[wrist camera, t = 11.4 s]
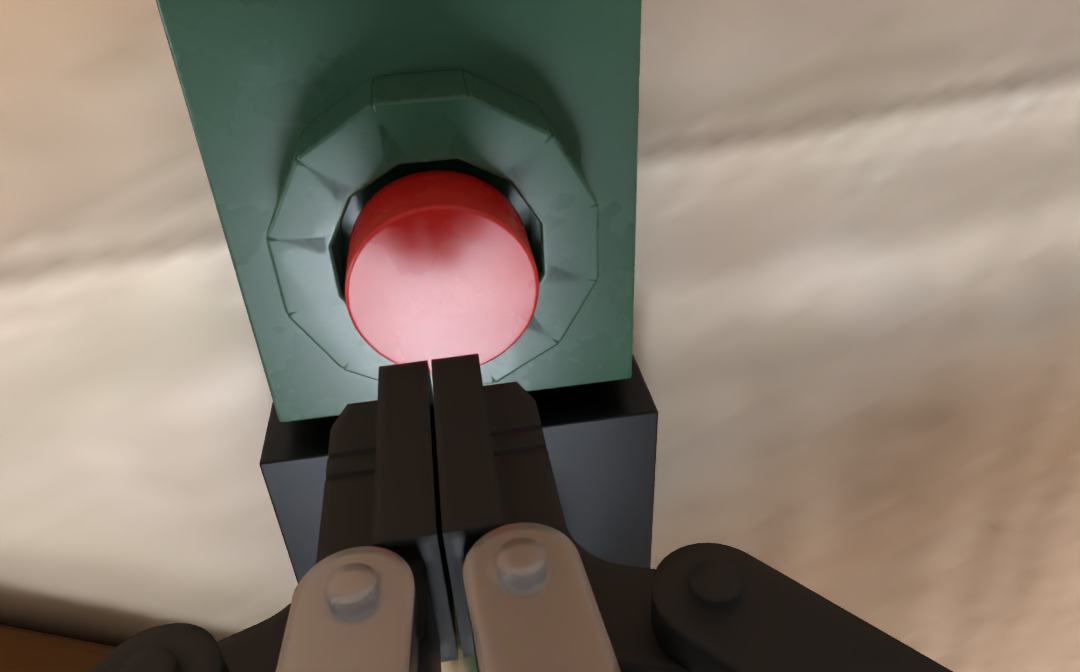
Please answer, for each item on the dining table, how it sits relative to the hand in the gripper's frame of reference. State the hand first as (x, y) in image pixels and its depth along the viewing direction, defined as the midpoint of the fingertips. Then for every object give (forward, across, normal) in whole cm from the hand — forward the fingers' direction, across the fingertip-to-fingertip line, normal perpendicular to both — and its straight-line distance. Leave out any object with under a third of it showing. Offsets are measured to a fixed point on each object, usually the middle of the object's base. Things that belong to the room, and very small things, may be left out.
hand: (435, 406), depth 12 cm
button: (+5, 0, 0) cm, 5 cm away
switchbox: (+8, 0, 0) cm, 9 cm away
